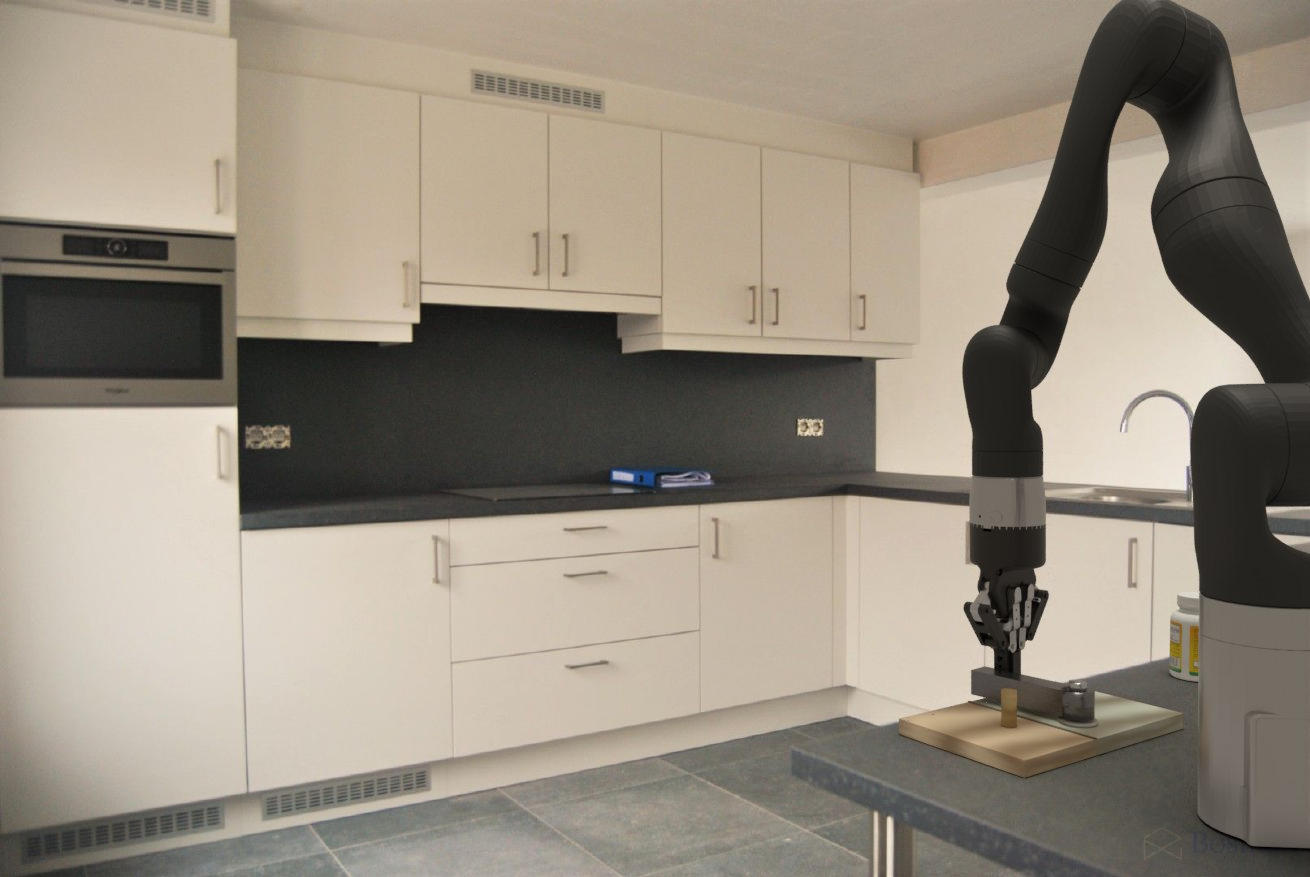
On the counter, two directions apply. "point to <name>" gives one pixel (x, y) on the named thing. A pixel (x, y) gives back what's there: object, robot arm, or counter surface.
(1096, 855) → the counter surface
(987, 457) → the robot arm
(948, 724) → the lock plate
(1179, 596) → the supplement bottle
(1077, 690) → the lock bar
